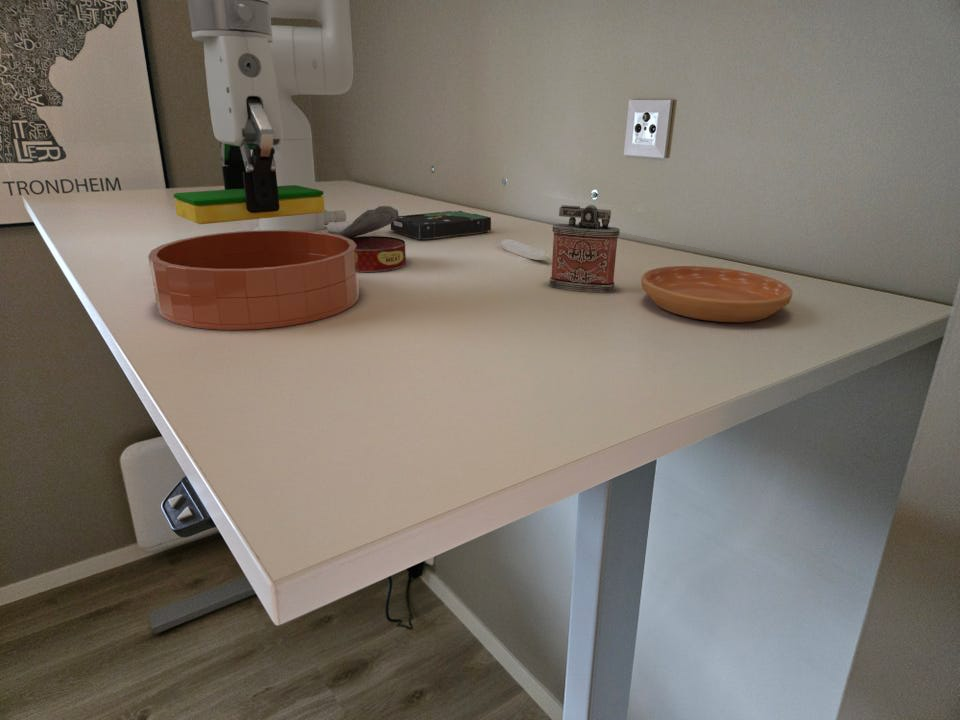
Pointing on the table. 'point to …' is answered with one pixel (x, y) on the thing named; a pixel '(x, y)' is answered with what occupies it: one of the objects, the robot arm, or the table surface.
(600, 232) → the lighter
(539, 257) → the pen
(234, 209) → the dish sponge
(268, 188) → the robot arm
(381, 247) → the canned food
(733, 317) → the saucer
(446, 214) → the disk drive
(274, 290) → the basin
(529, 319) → the table surface
